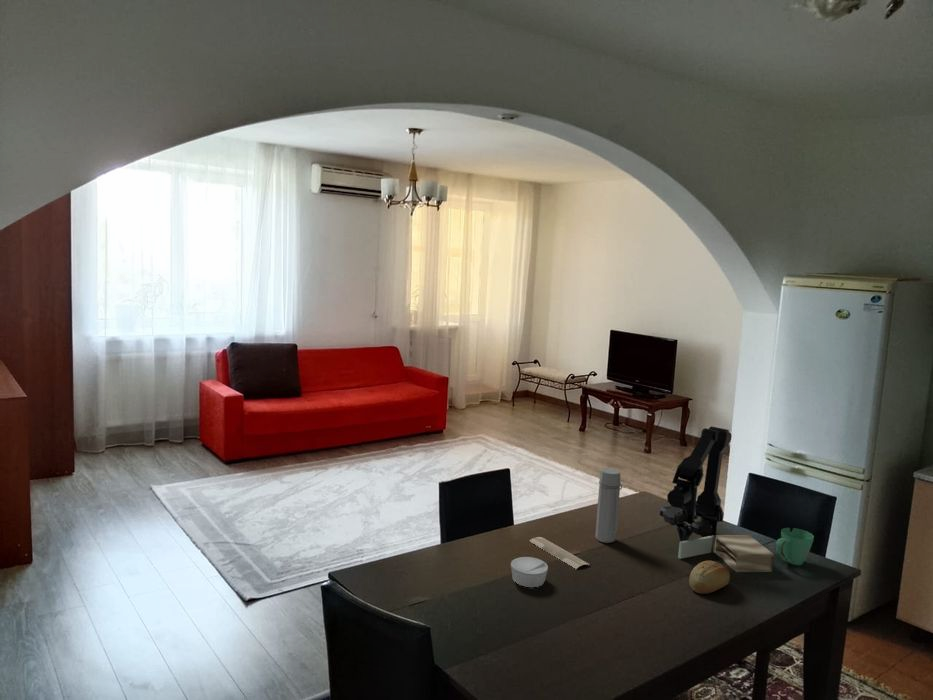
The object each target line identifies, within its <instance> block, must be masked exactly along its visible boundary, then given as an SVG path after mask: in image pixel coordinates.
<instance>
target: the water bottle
mask: <svg viewBox="0 0 933 700" xmlns="http://www.w3.org/2000/svg"><path fill="white" fill-rule="evenodd" d="M598 484H599V485H598V495H597V496H598V497H597V499H598V500H597V510H596V524H595V525H596V526H595V538H596V540H597V541H599V542H601V543H605V544H611V543H614V542H615V541H616V539H617V531H618V525H619V522H618V521H619V503H620V492H621V491H620V490H622V489H623V485H622V484H621V471H620V470H619V469H616V468H609V467H607V468H602V469H601V471H600V476H599V481H598Z"/></svg>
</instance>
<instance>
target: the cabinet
mask: <svg viewBox="0 0 933 700" xmlns="http://www.w3.org/2000/svg"><path fill="white" fill-rule="evenodd" d="M713 553H715V554H716V555H717V557H719V558H720V559H721V560H723V561H724V562H725V563H726V564H727V565H728V566H729V567H730V568H731V569H733V570H734V571H735V572H736V573H772V572H773V563H774V553H773V552H772V551H770V550H769V549H768V548H766V547H765V546H764V545H762V544H761V543H760V542H759V541H757V540H756V539H755V538H753V537H752V536H751V535H750V534H719V535H716V537H715V538H714V547H713Z"/></svg>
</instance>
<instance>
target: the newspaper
mask: <svg viewBox="0 0 933 700" xmlns="http://www.w3.org/2000/svg"><path fill="white" fill-rule="evenodd" d="M529 541H530V542H531V543H530V542H529V543H530V544H532V543H533V544H535V545H536V547H537V546H538V547H539V548H538V547H537V548H538V549H540V548H541V549H540V550H542V549H543V550H542V551H544V550H545V551H546V552H545V551H544V552H545V553H547V552H548V553H547V554H549V553H550V554H551V555H550V554H549V555H550V556H552V555H553V556H552V557H554V556H555V557H556V558H555V557H554V558H555V559H557V558H558V559H557V560H559V559H560V560H561V561H560V560H559V561H560V562H562V561H563V562H562V563H564V562H565V563H567V564H568V566H569V565H570V566H572V567H573V569H574V568H575V569H574V570H577V569H578V568H580V567H582V566H584V565H585V566H587V565H588V567H590V566H591V564H590V563H588V562H586V561H585V560H583V559H581V558H579V557H578V556H576V555H574V554H572V553H570V552H569V551H567V550H565V549H563V548H562V547H560V546H558V545H557V544H555V543H553V542H552V541H549V540H548V539H546V538H545V537H542V536H536V537H533V538H531V539H530V540H529ZM533 544H532V545H533ZM535 545H534V546H535ZM565 563H564V564H565ZM567 564H566V565H567ZM589 565H590V566H589ZM570 566H569V567H570ZM572 567H571V568H572Z"/></svg>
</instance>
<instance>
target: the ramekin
mask: <svg viewBox="0 0 933 700" xmlns="http://www.w3.org/2000/svg"><path fill="white" fill-rule="evenodd" d="M510 568H511V576H512V577H511V578H512V580H513V582H514V583H515V582H516V583H517V584H519V585H522V586H525V587H537V588H539V586H540V587H542V586H543V585H544V583H545V581H546V577H547V573H548V571H549V566H548V564H547V563H546V562H545V561H543V560H542V559H539V558H536V557H532V556H522V557H521V556H520V557H517V558H515V559H513V560H511V562H510ZM516 583H515V584H516ZM517 584H516V585H517ZM519 585H518V586H519ZM525 587H524V588H525Z"/></svg>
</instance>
